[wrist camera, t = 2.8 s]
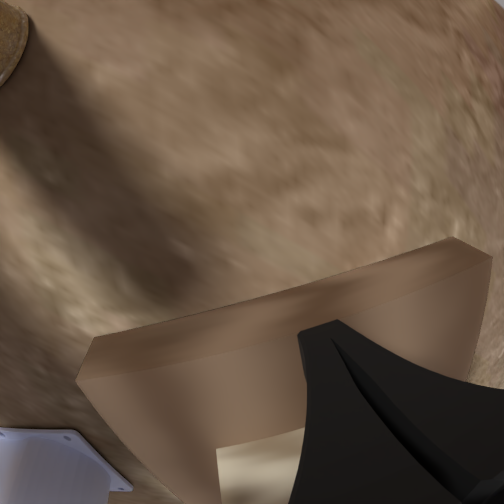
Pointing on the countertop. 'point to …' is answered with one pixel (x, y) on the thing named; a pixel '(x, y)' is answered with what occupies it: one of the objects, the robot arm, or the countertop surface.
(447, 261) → the walnut plate
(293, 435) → the cream rectangular box
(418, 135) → the countertop surface
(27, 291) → the countertop surface
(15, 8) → the sprinkles bottle
